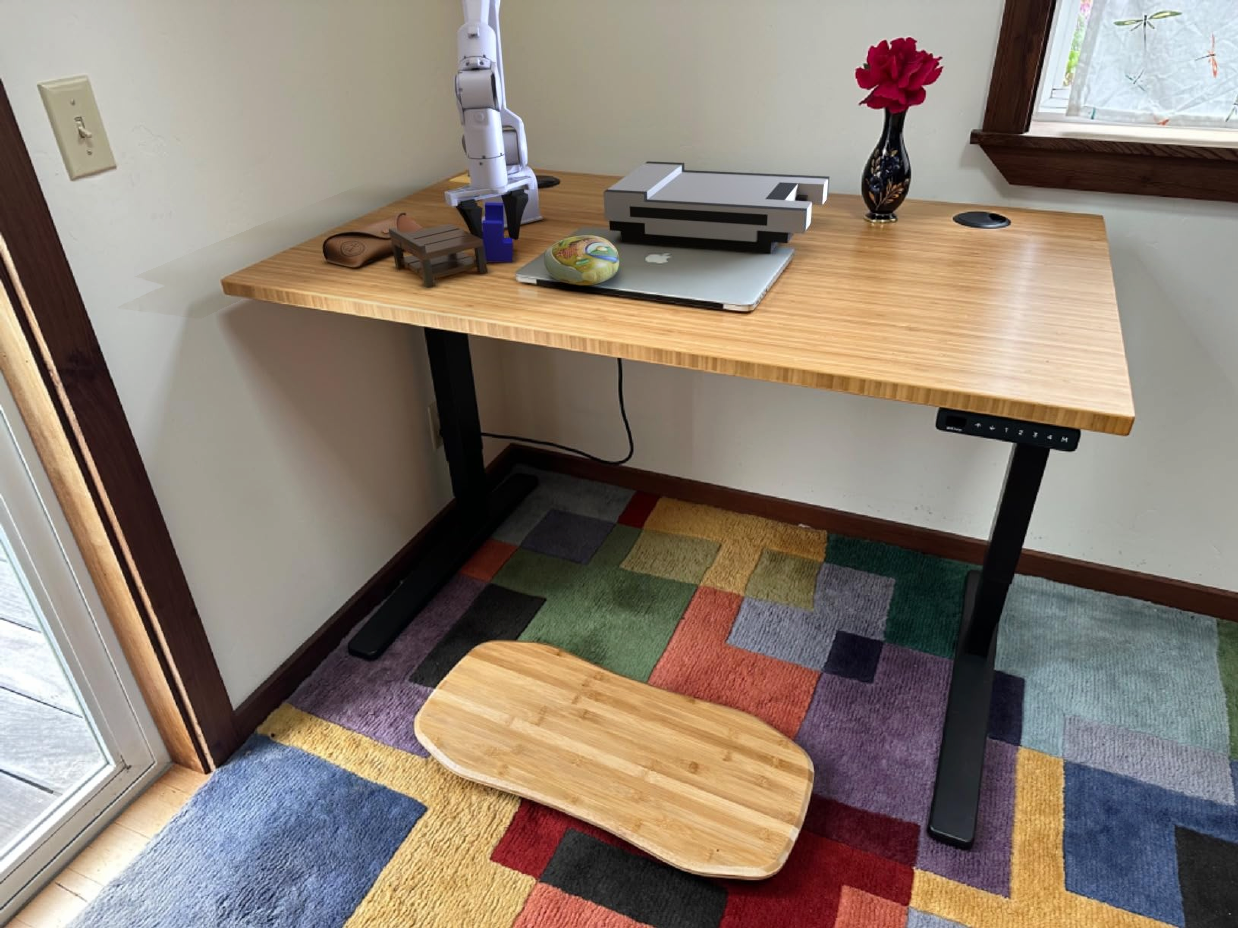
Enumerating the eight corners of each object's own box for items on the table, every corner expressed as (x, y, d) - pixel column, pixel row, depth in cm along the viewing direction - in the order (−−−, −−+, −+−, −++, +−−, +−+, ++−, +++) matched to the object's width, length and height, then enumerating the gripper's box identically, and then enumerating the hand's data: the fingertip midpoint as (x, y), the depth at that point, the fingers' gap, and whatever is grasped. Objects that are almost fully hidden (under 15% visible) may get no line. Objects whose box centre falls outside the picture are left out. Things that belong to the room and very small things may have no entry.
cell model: (620, 242, 133) (625, 233, 118) (612, 292, 135) (615, 290, 120) (551, 230, 133) (546, 220, 118) (543, 281, 134) (538, 277, 119)
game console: (802, 257, 131) (805, 203, 126) (606, 242, 141) (603, 191, 137) (826, 218, 147) (830, 169, 143) (648, 208, 158) (647, 161, 153)
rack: (453, 253, 140) (447, 215, 137) (487, 272, 132) (482, 232, 128) (395, 267, 136) (388, 228, 132) (427, 288, 127) (420, 246, 124)
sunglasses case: (358, 266, 135) (335, 227, 134) (338, 282, 140) (316, 245, 139) (440, 235, 147) (421, 199, 146) (419, 251, 152) (400, 216, 151)
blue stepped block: (512, 262, 135) (512, 223, 132) (483, 261, 135) (482, 223, 132) (513, 239, 145) (512, 203, 142) (486, 238, 145) (485, 202, 142)
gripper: (454, 167, 126) (467, 258, 133) (540, 151, 133) (548, 238, 140) (433, 160, 131) (447, 248, 138) (517, 144, 138) (526, 229, 145)
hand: (496, 242), depth 139 cm, fingers closed on blue stepped block, 6 cm apart
